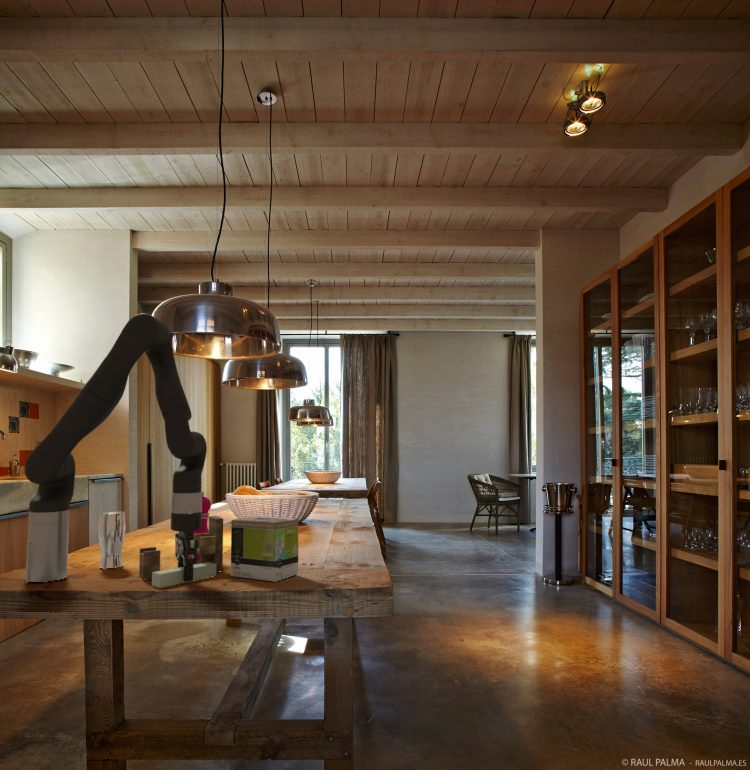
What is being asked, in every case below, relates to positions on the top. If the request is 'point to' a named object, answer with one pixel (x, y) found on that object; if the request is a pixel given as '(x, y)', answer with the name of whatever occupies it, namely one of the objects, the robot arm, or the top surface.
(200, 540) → the cup bracket
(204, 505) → the pepper mill
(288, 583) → the top surface
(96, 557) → the top surface
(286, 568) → the tea box
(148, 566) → the block
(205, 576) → the rail
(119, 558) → the beer glass
